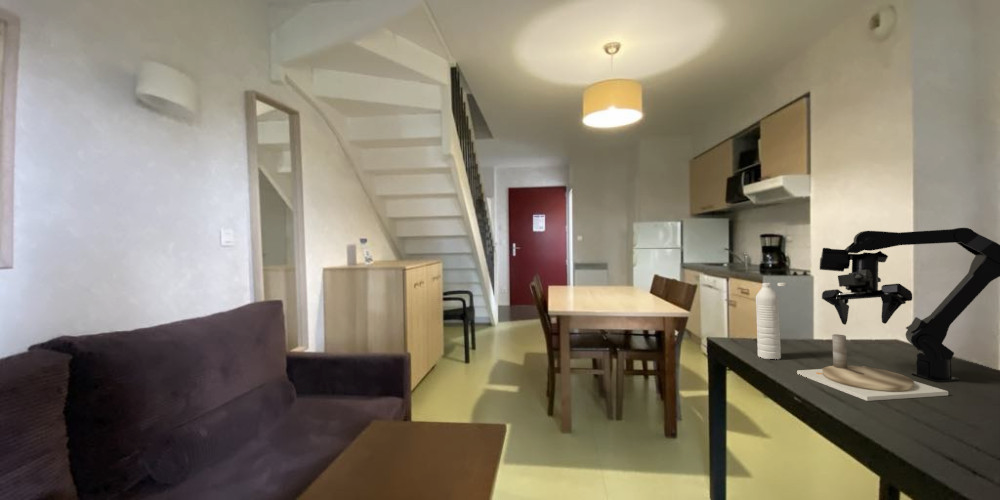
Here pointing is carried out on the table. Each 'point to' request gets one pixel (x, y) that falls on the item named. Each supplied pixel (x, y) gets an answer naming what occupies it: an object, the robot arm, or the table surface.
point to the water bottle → (768, 322)
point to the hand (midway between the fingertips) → (863, 323)
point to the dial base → (872, 394)
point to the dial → (862, 372)
